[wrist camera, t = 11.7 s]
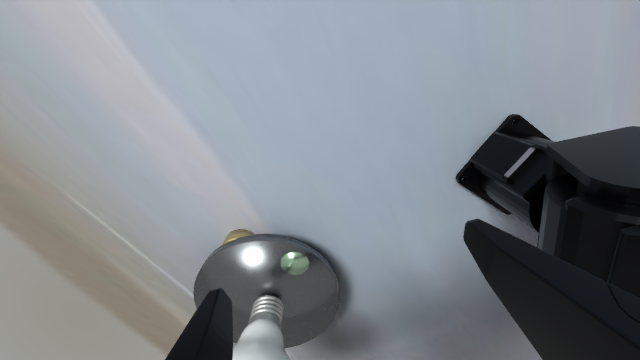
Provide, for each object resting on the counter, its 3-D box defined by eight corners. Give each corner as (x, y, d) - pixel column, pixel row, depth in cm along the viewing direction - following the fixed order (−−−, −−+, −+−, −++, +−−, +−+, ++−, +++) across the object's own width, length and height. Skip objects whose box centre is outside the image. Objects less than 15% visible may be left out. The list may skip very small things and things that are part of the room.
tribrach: (362, 262, 25) (367, 282, 23) (294, 342, 29) (293, 366, 27) (240, 200, 22) (231, 215, 20) (184, 298, 27) (171, 320, 24)
